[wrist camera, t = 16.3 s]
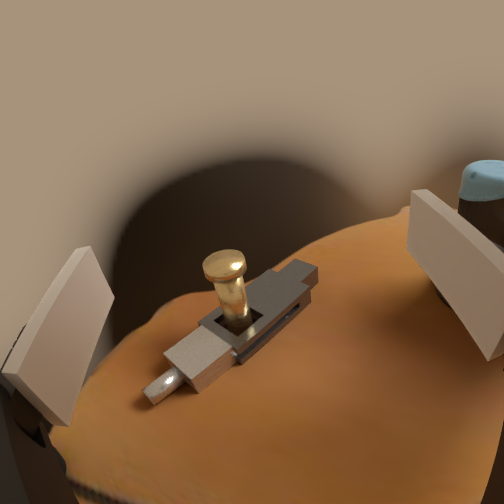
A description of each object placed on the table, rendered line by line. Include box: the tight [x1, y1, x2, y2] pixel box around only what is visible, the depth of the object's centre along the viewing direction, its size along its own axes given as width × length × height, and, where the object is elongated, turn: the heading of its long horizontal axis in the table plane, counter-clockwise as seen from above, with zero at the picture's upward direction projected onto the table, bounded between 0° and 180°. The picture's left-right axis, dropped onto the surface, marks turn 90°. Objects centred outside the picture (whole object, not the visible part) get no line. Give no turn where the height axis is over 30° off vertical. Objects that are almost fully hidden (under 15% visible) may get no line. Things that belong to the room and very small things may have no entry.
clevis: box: [142, 259, 318, 405], centre depth 48 cm, size 35×9×4 cm, turn 136°
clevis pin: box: [203, 250, 253, 337], centre depth 45 cm, size 6×6×14 cm
